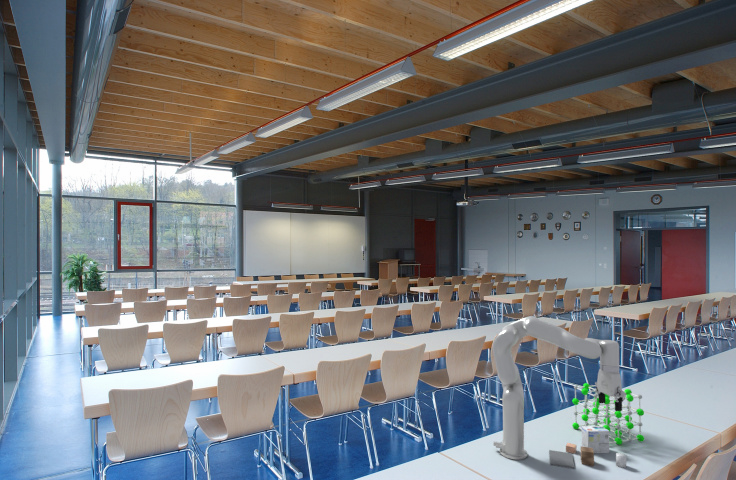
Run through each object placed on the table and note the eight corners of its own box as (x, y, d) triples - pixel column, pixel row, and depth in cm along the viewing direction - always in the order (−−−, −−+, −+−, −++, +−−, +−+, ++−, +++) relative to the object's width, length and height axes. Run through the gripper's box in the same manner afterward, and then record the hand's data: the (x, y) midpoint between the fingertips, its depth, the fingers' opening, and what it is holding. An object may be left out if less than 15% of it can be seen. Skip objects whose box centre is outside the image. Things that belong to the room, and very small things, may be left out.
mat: (550, 464, 201) (550, 463, 201) (549, 451, 214) (549, 449, 214) (574, 468, 197) (574, 467, 197) (571, 455, 210) (571, 453, 210)
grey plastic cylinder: (616, 467, 199) (616, 456, 199) (615, 463, 203) (615, 452, 203) (627, 468, 197) (627, 457, 197) (625, 464, 201) (625, 453, 201)
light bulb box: (602, 447, 219) (602, 425, 219) (610, 453, 212) (609, 430, 212) (580, 447, 218) (580, 425, 219) (588, 453, 212) (587, 431, 212)
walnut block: (581, 464, 202) (581, 451, 202) (580, 459, 206) (580, 446, 206) (594, 466, 200) (593, 452, 200) (592, 461, 204) (592, 448, 205)
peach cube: (565, 451, 214) (565, 445, 214) (567, 448, 217) (567, 442, 217) (574, 454, 212) (574, 447, 212) (576, 450, 215) (576, 444, 215)
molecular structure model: (606, 448, 218) (606, 398, 218) (570, 428, 242) (570, 383, 242) (646, 442, 224) (645, 394, 225) (607, 423, 248) (606, 379, 249)
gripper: (588, 363, 206) (589, 401, 206) (617, 374, 189) (617, 414, 189) (602, 362, 208) (603, 399, 208) (632, 373, 191) (632, 413, 191)
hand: (610, 406), depth 198 cm, fingers open, 9 cm apart
